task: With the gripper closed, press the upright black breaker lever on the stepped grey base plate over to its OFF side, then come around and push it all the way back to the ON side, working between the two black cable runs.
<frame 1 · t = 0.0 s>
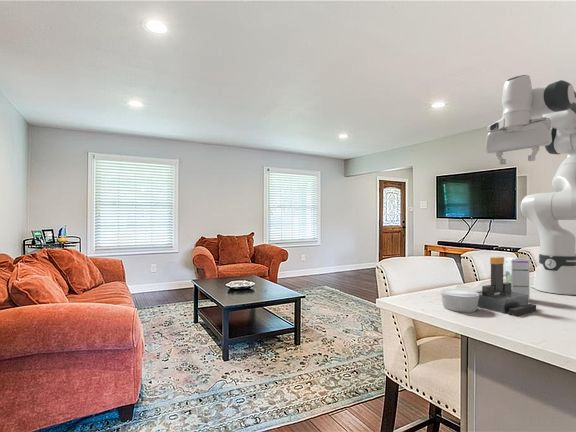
hand: (516, 162, 122), 48 cm above the table, tool pointing down, fingers open, 8 cm apart
ramekin: (459, 309, 111), on the table
syrup box: (517, 299, 124), on the table
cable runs: (491, 305, 114), on the table
breaker lever: (497, 274, 114), point 10 cm above the table, hinge at 0.0°
stepped grey base plate: (497, 305, 114), on the table
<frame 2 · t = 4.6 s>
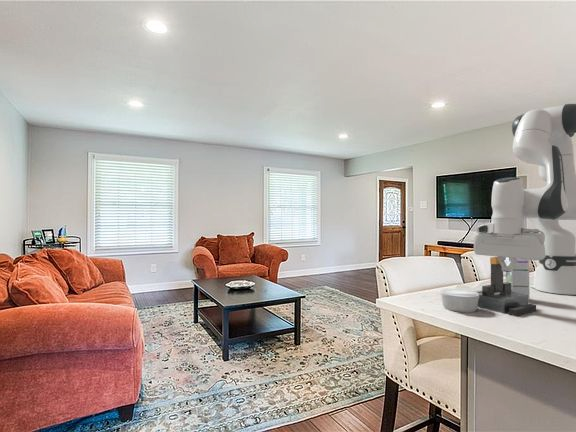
hand: (507, 271, 112), 12 cm above the table, tool pointing down, fingers closed
breaker lever: (497, 274, 114), point 10 cm above the table, hinge at -0.3°, touching gripper
everything else where it was.
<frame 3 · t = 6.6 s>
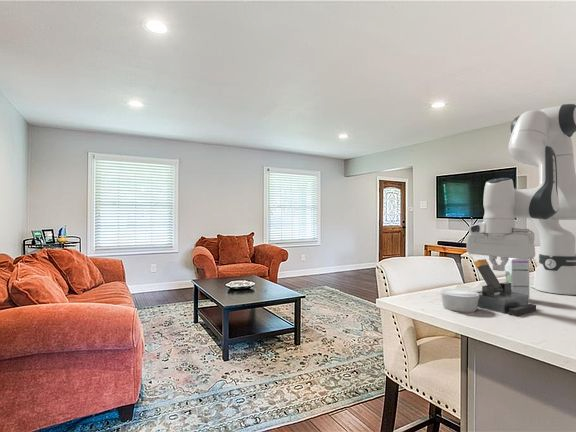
hand: (498, 270, 114), 12 cm above the table, tool pointing down, fingers closed
breaker lever: (488, 276, 117), point 9 cm above the table, hinge at -33.4°
everything else where it was.
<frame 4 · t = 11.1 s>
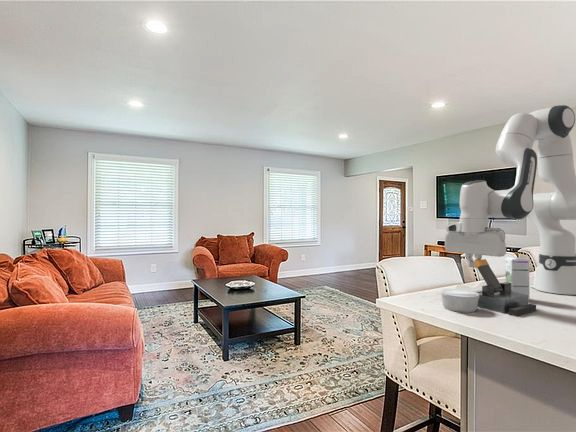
hand: (473, 267, 121), 12 cm above the table, tool pointing down, fingers closed
breaker lever: (488, 276, 117), point 9 cm above the table, hinge at -33.3°, touching gripper
everything else where it was.
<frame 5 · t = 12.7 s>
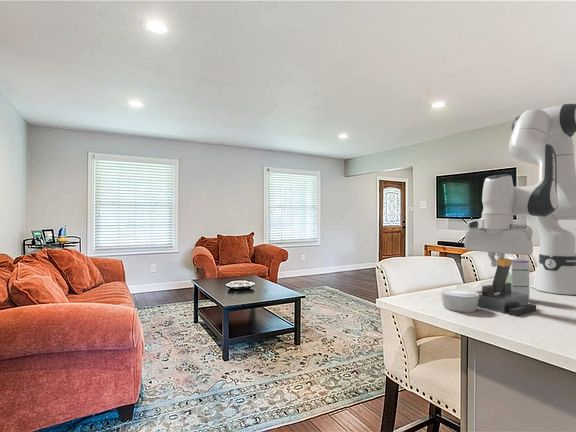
hand: (495, 266, 114), 13 cm above the table, tool pointing down, fingers closed
breaker lever: (501, 276, 113), point 10 cm above the table, hinge at 14.8°, touching gripper
everything else where it was.
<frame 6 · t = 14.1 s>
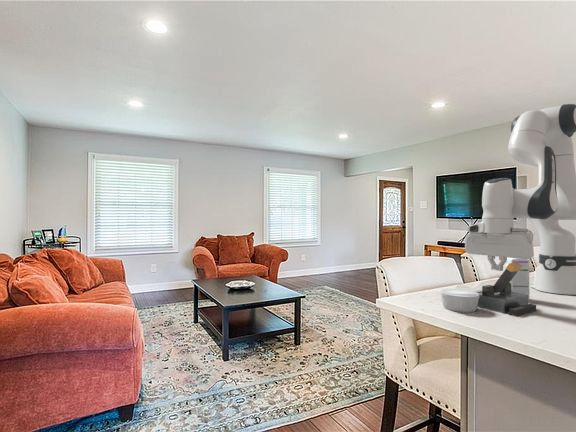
hand: (497, 270, 114), 12 cm above the table, tool pointing down, fingers closed
breaker lever: (505, 278, 112), point 9 cm above the table, hinge at 32.8°
everything else where it was.
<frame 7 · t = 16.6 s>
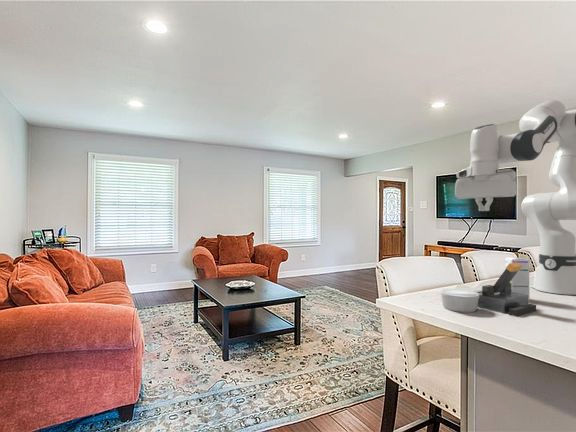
hand: (484, 210, 123), 31 cm above the table, tool pointing down, fingers closed
nothing on the table moved.
at the end: breaker lever at +33° (first picture: +0°) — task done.
